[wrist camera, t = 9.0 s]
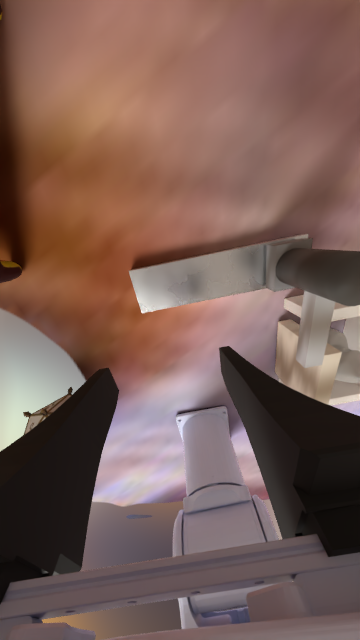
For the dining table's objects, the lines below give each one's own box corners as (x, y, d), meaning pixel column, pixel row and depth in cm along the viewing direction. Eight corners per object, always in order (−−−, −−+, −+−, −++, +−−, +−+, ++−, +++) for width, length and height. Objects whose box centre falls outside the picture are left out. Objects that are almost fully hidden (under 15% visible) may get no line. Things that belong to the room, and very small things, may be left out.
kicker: (285, 370, 24) (344, 435, 16) (258, 375, 24) (303, 442, 16) (298, 237, 17) (417, 233, 9) (260, 244, 17) (343, 248, 9)
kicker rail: (294, 278, 19) (302, 280, 18) (143, 309, 19) (141, 313, 18) (299, 234, 17) (308, 233, 16) (131, 269, 17) (128, 271, 16)
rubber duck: (337, 332, 22) (420, 376, 15) (300, 368, 24) (356, 422, 17) (309, 314, 21) (384, 353, 14) (272, 354, 23) (320, 406, 16)
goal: (340, 372, 25) (388, 408, 20) (278, 383, 25) (308, 422, 20) (365, 282, 19) (442, 298, 14) (284, 298, 20) (328, 320, 14)
